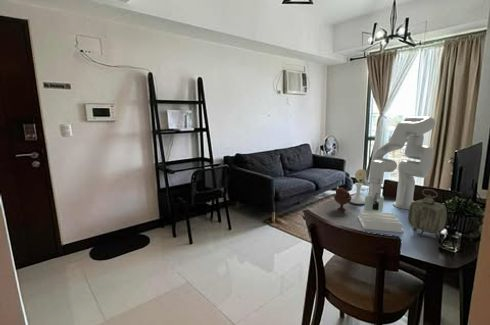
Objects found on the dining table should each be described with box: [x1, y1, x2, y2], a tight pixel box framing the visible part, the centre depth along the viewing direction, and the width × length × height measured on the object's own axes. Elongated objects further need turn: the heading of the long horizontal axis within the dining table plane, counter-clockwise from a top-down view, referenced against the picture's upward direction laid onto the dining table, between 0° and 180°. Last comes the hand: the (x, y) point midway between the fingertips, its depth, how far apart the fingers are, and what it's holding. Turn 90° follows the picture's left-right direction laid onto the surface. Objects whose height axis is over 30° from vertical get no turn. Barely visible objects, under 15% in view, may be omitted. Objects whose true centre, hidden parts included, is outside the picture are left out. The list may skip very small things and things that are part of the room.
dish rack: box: [357, 209, 404, 233], centre depth 149 cm, size 20×15×5 cm
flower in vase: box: [349, 168, 367, 205], centre depth 182 cm, size 13×11×25 cm
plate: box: [363, 194, 385, 212], centre depth 163 cm, size 10×2×12 cm, turn 77°
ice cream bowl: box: [333, 187, 352, 213], centre depth 170 cm, size 11×11×15 cm
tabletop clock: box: [407, 188, 448, 239], centre depth 134 cm, size 14×9×25 cm, turn 33°
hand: (373, 206), depth 163 cm, fingers open, 9 cm apart
